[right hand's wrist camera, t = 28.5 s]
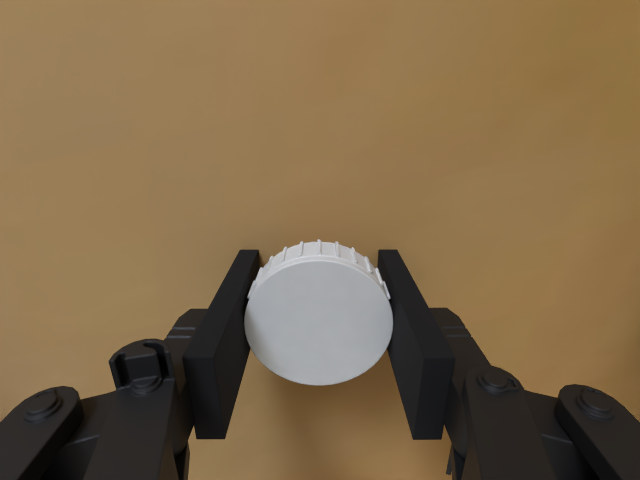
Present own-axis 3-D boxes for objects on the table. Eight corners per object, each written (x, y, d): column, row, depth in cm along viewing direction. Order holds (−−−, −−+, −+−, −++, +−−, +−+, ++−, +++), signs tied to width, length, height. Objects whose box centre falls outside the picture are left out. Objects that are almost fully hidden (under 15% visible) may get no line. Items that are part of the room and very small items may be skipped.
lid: (292, 374, 14) (289, 406, 13) (224, 275, 13) (211, 299, 11) (407, 326, 14) (418, 355, 12) (350, 214, 12) (355, 230, 10)
